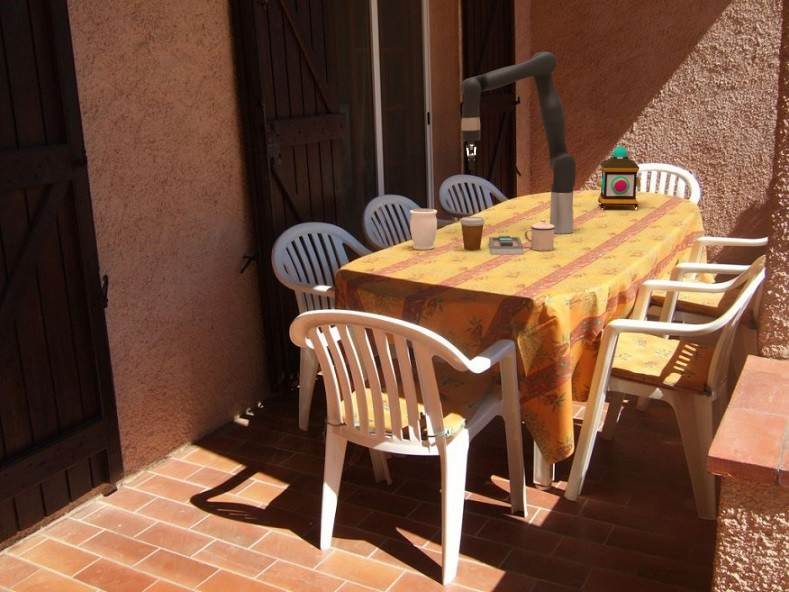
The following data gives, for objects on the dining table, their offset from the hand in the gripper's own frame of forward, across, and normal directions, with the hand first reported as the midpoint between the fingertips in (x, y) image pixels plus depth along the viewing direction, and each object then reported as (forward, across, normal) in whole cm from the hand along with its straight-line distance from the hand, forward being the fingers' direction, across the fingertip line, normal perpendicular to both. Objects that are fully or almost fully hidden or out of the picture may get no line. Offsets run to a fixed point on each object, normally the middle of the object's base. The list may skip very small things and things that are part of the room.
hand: (471, 168), depth 363 cm
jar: (+28, -25, +20) cm, 42 cm away
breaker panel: (+28, -28, -12) cm, 41 cm away
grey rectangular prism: (+25, -22, -12) cm, 36 cm away
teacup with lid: (+29, -26, -25) cm, 46 cm away
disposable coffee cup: (+28, -27, +1) cm, 39 cm away
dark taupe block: (+25, -32, -13) cm, 43 cm away
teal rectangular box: (+25, -28, -12) cm, 39 cm away
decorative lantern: (+30, +69, -72) cm, 104 cm away
